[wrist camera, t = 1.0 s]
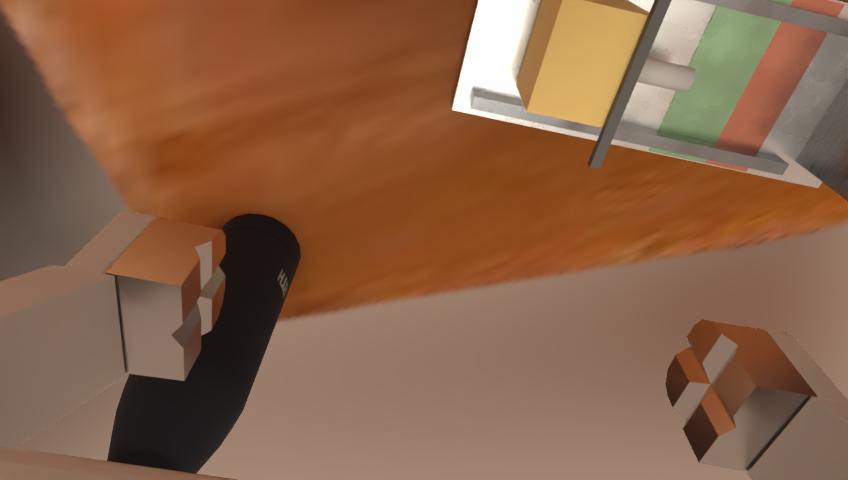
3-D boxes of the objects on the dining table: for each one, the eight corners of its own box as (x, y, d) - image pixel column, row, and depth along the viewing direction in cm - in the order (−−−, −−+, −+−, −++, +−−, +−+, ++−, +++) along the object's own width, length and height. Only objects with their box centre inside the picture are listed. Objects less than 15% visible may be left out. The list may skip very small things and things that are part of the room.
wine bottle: (202, 245, 43) (-145, 761, 17) (252, 197, 40) (-65, 717, 15) (266, 294, 45) (45, 807, 20) (317, 251, 43) (140, 775, 17)
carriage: (560, -62, 29) (582, -54, 25) (714, -24, 30) (762, -9, 26) (505, 118, 35) (515, 151, 31) (637, 146, 36) (665, 182, 31)
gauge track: (497, -85, 30) (511, -79, 24) (917, 20, 32) (1023, 48, 27) (451, 104, 36) (453, 146, 30) (809, 181, 38) (877, 234, 32)
